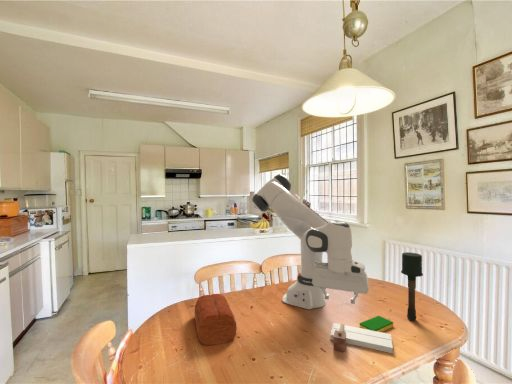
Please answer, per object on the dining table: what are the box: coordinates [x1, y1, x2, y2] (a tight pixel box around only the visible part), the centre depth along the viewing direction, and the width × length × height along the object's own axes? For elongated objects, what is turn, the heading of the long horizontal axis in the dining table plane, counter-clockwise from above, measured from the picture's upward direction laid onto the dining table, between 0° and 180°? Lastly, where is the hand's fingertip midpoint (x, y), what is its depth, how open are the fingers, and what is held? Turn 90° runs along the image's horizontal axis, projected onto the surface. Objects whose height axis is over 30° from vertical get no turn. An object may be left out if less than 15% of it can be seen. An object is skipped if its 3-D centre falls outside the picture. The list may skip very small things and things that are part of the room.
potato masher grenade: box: [400, 251, 424, 322], centre depth 120 cm, size 8×9×30 cm
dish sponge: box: [359, 315, 394, 333], centre depth 113 cm, size 7×14×2 cm, turn 121°
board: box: [329, 322, 394, 354], centre depth 104 cm, size 22×10×2 cm, turn 66°
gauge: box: [332, 323, 347, 353], centre depth 102 cm, size 4×13×6 cm, turn 156°
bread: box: [194, 293, 238, 346], centre depth 113 cm, size 16×27×11 cm, turn 17°
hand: (339, 301), depth 98 cm, fingers open, 8 cm apart
